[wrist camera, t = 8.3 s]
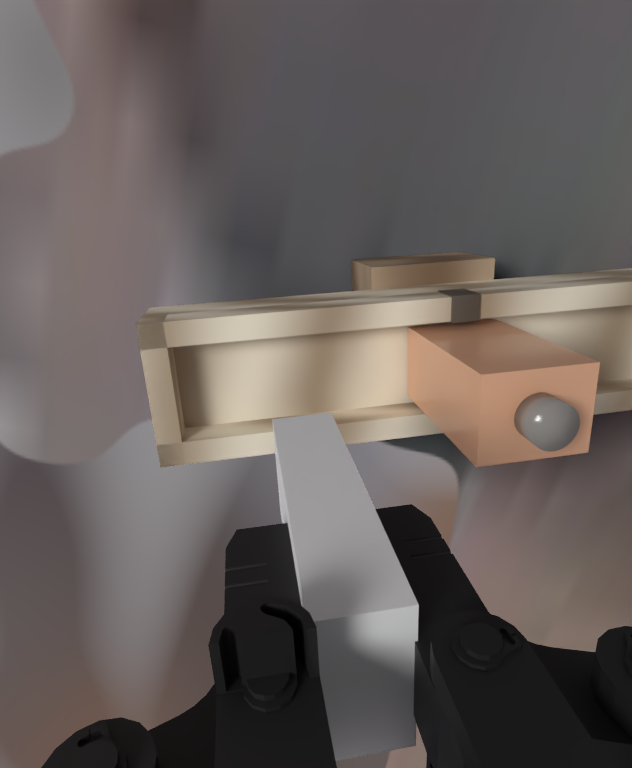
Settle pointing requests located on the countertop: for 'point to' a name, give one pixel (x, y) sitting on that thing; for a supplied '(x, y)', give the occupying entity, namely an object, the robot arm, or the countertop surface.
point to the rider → (502, 390)
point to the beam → (358, 350)
